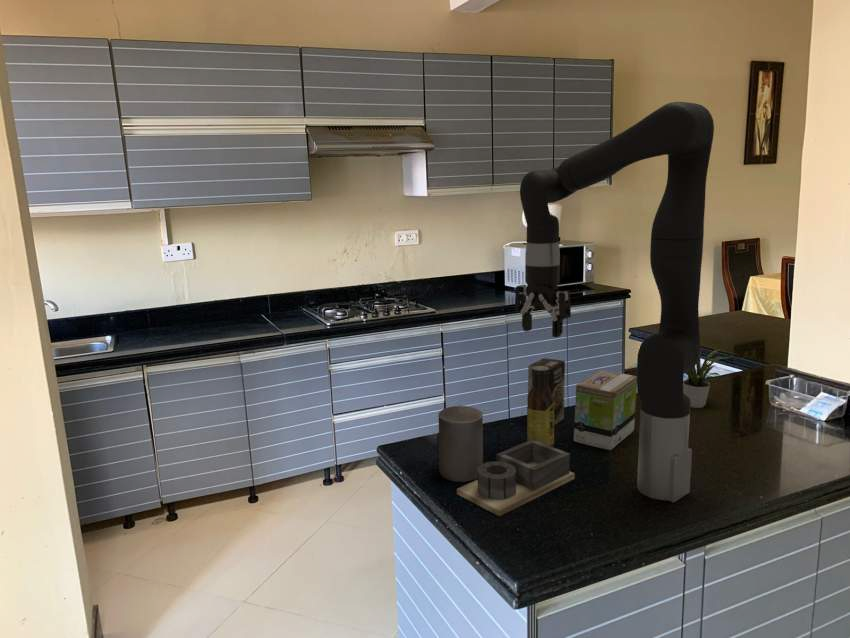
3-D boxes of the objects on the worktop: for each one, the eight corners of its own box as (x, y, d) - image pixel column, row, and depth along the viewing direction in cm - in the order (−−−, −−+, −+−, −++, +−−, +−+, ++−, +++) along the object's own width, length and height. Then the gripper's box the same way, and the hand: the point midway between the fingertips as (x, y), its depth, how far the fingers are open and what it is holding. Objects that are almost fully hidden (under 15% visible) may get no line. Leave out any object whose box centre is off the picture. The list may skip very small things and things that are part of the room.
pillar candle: (432, 466, 145) (431, 404, 141) (472, 459, 148) (471, 397, 145) (449, 486, 136) (448, 419, 132) (491, 477, 139) (490, 412, 136)
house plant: (731, 401, 179) (736, 344, 176) (724, 417, 168) (729, 357, 165) (678, 393, 187) (681, 338, 183) (667, 408, 176) (670, 350, 172)
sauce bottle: (556, 454, 149) (557, 372, 145) (529, 454, 149) (529, 372, 145) (551, 442, 156) (552, 363, 151) (525, 443, 156) (525, 364, 151)
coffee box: (549, 430, 163) (550, 369, 160) (526, 425, 167) (527, 365, 164) (565, 419, 170) (566, 360, 167) (542, 414, 174) (543, 356, 171)
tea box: (612, 452, 150) (615, 391, 146) (572, 442, 156) (573, 384, 152) (635, 430, 161) (638, 374, 158) (597, 422, 167) (598, 368, 164)
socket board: (574, 478, 137) (575, 453, 136) (499, 516, 123) (499, 489, 122) (531, 460, 146) (531, 437, 145) (456, 494, 132) (456, 468, 131)
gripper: (579, 263, 140) (577, 335, 143) (529, 258, 150) (528, 325, 154) (557, 267, 135) (555, 342, 139) (507, 261, 146) (507, 331, 149)
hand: (541, 333), depth 146 cm, fingers open, 8 cm apart
